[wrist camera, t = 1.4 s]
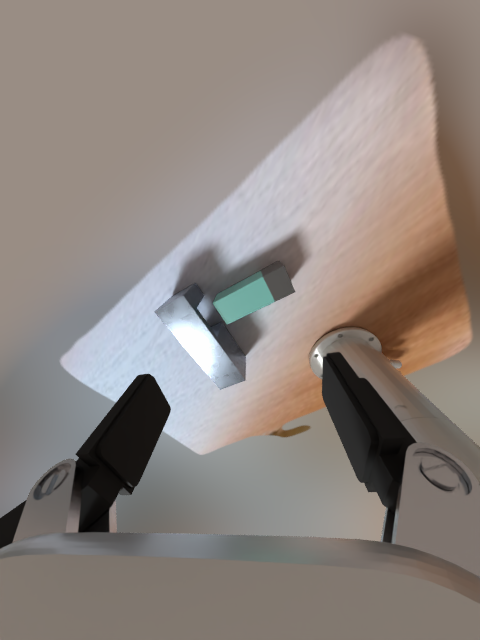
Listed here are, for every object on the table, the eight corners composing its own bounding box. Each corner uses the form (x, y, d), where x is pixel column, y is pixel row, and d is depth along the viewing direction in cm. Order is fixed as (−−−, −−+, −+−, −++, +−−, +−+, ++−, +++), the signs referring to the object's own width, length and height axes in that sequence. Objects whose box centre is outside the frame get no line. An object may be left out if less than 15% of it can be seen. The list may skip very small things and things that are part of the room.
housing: (195, 282, 28) (183, 295, 22) (245, 357, 34) (245, 380, 29) (171, 296, 29) (154, 311, 24) (224, 365, 36) (220, 389, 30)
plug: (278, 260, 26) (283, 265, 22) (289, 283, 27) (295, 291, 24) (216, 294, 29) (212, 303, 25) (228, 313, 30) (226, 325, 27)
